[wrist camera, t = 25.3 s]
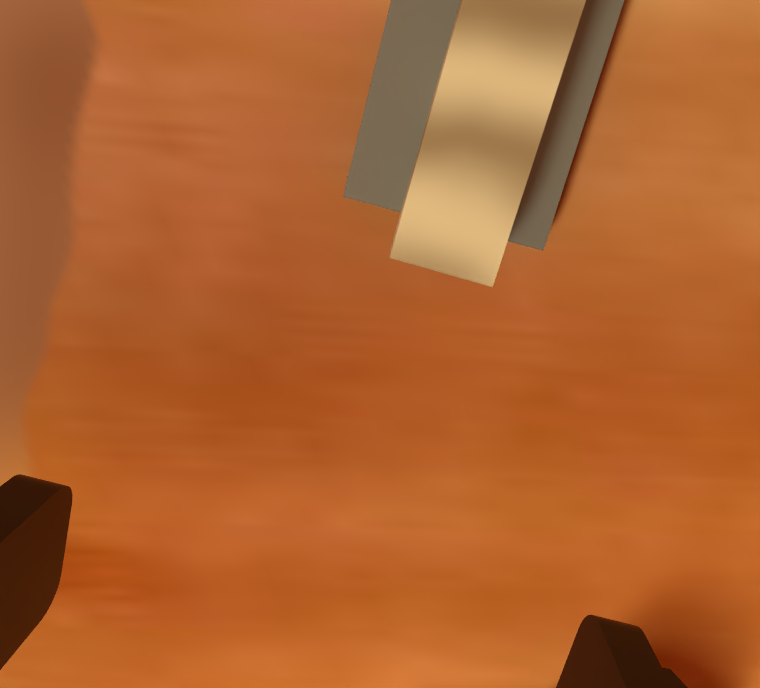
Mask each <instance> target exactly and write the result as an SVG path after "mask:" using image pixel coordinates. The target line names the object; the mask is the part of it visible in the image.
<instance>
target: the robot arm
mask: <svg viewBox="0 0 760 688" xmlns="http://www.w3.org/2000/svg"><path fill="white" fill-rule="evenodd" d="M71 506H72V491H71V488H70V487H68V486H65V485H61V484H57V483H53V482H49V481H45V480H41V479H37V478H33V477H29V476H25V475H16V476H14V477H12V478H11V479H10V480H8V481H7V482H6V483H4V484H3V485H2V486H0V670H1V668H2V667H3V666H4V665H5V664H6V662H7V661H8V660H9V659H10V657H11V656H12V655H13V654H14V653H15V651H16V650H17V649H18V648H19V647H20V645H21V644H22V643H23V642H24V640H25V639H26V638H27V637H28V636H29V634H30V633H31V632H32V631H33V629H34V628H35V627H36V626H37V625H38V623H39V622H40V621H41V620H42V618H43V617H44V615H45V614H46V612H47V610H48V609H49V607H50V605H51V603H52V601H53V598H54V596H55V594H56V591H57V588H58V585H59V581H60V577H61V572H62V565H63V559H64V552H65V545H66V539H67V532H68V526H69V519H70V512H71ZM556 688H687V687H686V686H685V685H684V683H683V682H682V681H681V680H680V679H679V678H678V677H677V676H676V675H675V674H674V673H673V672H672V671H671V670H670V669H666V668H662V667H661V665H660V663H659V661H658V660H657V658H656V656H655V654H654V652H653V650H652V648H651V646H650V644H649V642H648V640H647V638H646V636H645V634H644V633H643V631H642V630H641V629H640V628H639V627H638V626H634V625H630V624H626V623H622V622H618V621H614V620H610V619H606V618H602V617H598V616H594V615H588V616H586V617H585V618H584V620H583V621H582V623H581V624H580V627H579V629H578V632H577V634H576V637H575V640H574V642H573V645H572V647H571V650H570V653H569V655H568V658H567V661H566V663H565V666H564V668H563V671H562V674H561V676H560V679H559V682H558V684H557V687H556Z"/></svg>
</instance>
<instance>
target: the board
mask: <svg viewBox="0 0 760 688" xmlns="http://www.w3.org/2000/svg"><path fill="white" fill-rule="evenodd" d="M460 1H461V0H391V3H390V7H389V11H388V15H387V20H386V24H385V28H384V32H383V36H382V40H381V44H380V48H379V52H378V56H377V61H376V65H375V69H374V73H373V77H372V81H371V85H370V89H369V93H368V97H367V101H366V106H365V110H364V114H363V118H362V122H361V126H360V130H359V134H358V138H357V142H356V147H355V151H354V155H353V159H352V163H351V167H350V171H349V175H348V179H347V183H346V187H345V192H344V196H343V197H346V198H350V199H354V200H358V201H361V202H365V203H369V204H372V205H376V206H380V207H383V208H387V209H391V210H395V211H398V212H401V210H402V207H403V203H404V200H405V196H406V192H407V189H408V185H409V182H410V178H411V175H412V171H413V168H414V164H415V161H416V157H417V154H418V150H419V146H420V143H421V139H422V136H423V132H424V129H425V125H426V122H427V118H428V115H429V111H430V107H431V104H432V100H433V97H434V93H435V90H436V86H437V83H438V79H439V76H440V72H441V69H442V65H443V61H444V58H445V54H446V51H447V47H448V44H449V40H450V37H451V33H452V30H453V26H454V23H455V19H456V15H457V12H458V8H459V5H460ZM623 3H624V0H586V2H585V5H584V8H583V11H582V14H581V17H580V20H579V23H578V26H577V30H576V33H575V36H574V39H573V42H572V45H571V48H570V51H569V54H568V57H567V60H566V63H565V66H564V69H563V72H562V76H561V79H560V82H559V85H558V88H557V91H556V94H555V97H554V100H553V103H552V106H551V109H550V112H549V115H548V119H547V122H546V125H545V128H544V131H543V134H542V137H541V140H540V143H539V146H538V149H537V152H536V155H535V158H534V161H533V165H532V168H531V171H530V174H529V177H528V180H527V183H526V186H525V189H524V192H523V195H522V198H521V201H520V204H519V208H518V211H517V214H516V217H515V220H514V223H513V226H512V229H511V232H510V235H509V238H508V241H509V242H513V243H516V244H520V245H524V246H528V247H531V248H535V249H539V250H542V251H543V250H544V247H545V243H546V240H547V237H548V234H549V231H550V228H551V225H552V222H553V219H554V216H555V213H556V210H557V207H558V203H559V200H560V197H561V194H562V191H563V188H564V185H565V182H566V179H567V176H568V173H569V170H570V166H571V163H572V160H573V157H574V154H575V151H576V148H577V145H578V142H579V139H580V136H581V133H582V130H583V126H584V123H585V120H586V117H587V114H588V111H589V108H590V105H591V102H592V99H593V96H594V93H595V89H596V86H597V83H598V80H599V77H600V74H601V71H602V68H603V65H604V62H605V59H606V56H607V52H608V49H609V46H610V43H611V40H612V37H613V34H614V31H615V28H616V25H617V22H618V19H619V16H620V12H621V9H622V6H623Z"/></svg>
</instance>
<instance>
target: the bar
mask: <svg viewBox="0 0 760 688" xmlns="http://www.w3.org/2000/svg"><path fill="white" fill-rule="evenodd" d="M585 2H586V0H461V1H460V5H459V8H458V12H457V15H456V19H455V23H454V26H453V30H452V33H451V37H450V40H449V44H448V47H447V51H446V54H445V58H444V61H443V65H442V69H441V72H440V76H439V79H438V83H437V86H436V90H435V93H434V97H433V100H432V104H431V107H430V111H429V115H428V118H427V122H426V125H425V129H424V132H423V136H422V139H421V143H420V146H419V150H418V154H417V157H416V161H415V164H414V168H413V171H412V175H411V178H410V182H409V185H408V189H407V192H406V196H405V200H404V203H403V207H402V210H401V214H400V217H399V221H398V224H397V228H396V231H395V235H394V238H393V242H392V246H391V251H390V258H392V259H396V260H399V261H403V262H406V263H410V264H413V265H417V266H420V267H424V268H428V269H431V270H435V271H438V272H442V273H445V274H449V275H452V276H456V277H459V278H463V279H466V280H470V281H473V282H477V283H480V284H484V285H487V286H491V287H493V284H494V281H495V278H496V275H497V272H498V269H499V266H500V263H501V260H502V257H503V254H504V250H505V247H506V244H507V241H508V238H509V235H510V232H511V229H512V226H513V223H514V220H515V217H516V214H517V211H518V208H519V204H520V201H521V198H522V195H523V192H524V189H525V186H526V183H527V180H528V177H529V174H530V171H531V168H532V165H533V161H534V158H535V155H536V152H537V149H538V146H539V143H540V140H541V137H542V134H543V131H544V128H545V125H546V122H547V119H548V115H549V112H550V109H551V106H552V103H553V100H554V97H555V94H556V91H557V88H558V85H559V82H560V79H561V76H562V72H563V69H564V66H565V63H566V60H567V57H568V54H569V51H570V48H571V45H572V42H573V39H574V36H575V33H576V30H577V26H578V23H579V20H580V17H581V14H582V11H583V8H584V5H585Z"/></svg>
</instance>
